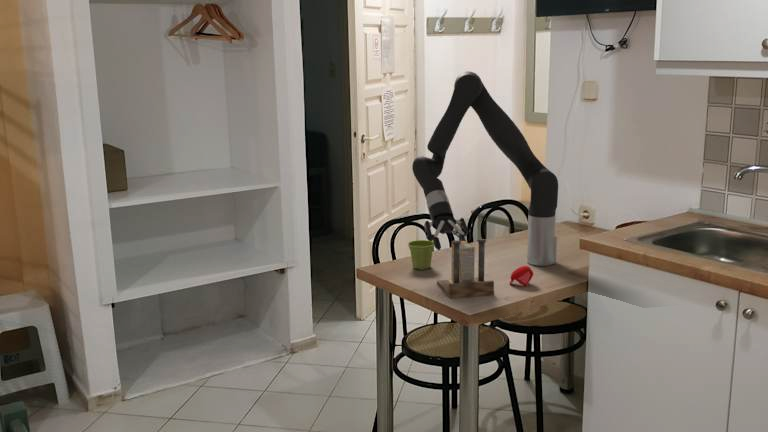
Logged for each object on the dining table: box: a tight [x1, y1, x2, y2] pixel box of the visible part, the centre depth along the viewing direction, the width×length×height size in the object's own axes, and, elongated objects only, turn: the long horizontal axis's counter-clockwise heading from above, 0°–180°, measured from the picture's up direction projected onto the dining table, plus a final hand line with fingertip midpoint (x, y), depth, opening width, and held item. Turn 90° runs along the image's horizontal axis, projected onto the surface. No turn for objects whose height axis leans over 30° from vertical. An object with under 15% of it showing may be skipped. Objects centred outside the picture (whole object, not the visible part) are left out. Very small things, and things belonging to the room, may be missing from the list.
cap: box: [509, 265, 534, 287], centre depth 241 cm, size 8×6×6 cm
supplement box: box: [450, 240, 476, 283], centre depth 238 cm, size 8×5×13 cm, turn 17°
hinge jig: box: [436, 238, 495, 299], centre depth 236 cm, size 14×15×17 cm
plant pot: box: [407, 239, 435, 271], centre depth 262 cm, size 9×9×9 cm
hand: (451, 247), depth 246 cm, fingers open, 8 cm apart
